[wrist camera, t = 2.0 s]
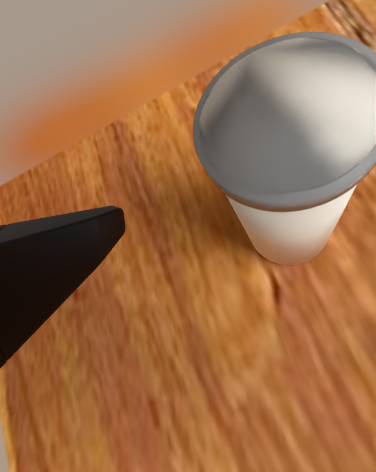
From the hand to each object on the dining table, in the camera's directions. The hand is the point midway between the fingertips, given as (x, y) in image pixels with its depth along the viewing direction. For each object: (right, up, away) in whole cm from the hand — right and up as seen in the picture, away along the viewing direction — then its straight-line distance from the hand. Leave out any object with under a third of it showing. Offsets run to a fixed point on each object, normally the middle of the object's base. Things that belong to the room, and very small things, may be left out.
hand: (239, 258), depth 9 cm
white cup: (+5, +1, +11) cm, 12 cm away
